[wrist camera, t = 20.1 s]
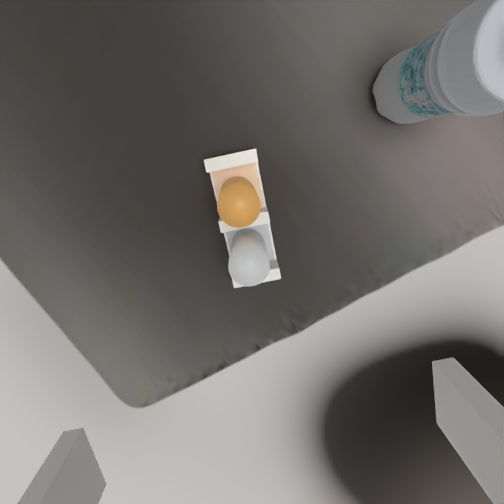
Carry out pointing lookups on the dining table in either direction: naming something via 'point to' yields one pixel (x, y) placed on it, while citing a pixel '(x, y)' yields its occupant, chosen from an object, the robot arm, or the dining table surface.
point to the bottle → (448, 70)
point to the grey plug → (248, 258)
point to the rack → (248, 168)
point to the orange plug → (238, 202)
